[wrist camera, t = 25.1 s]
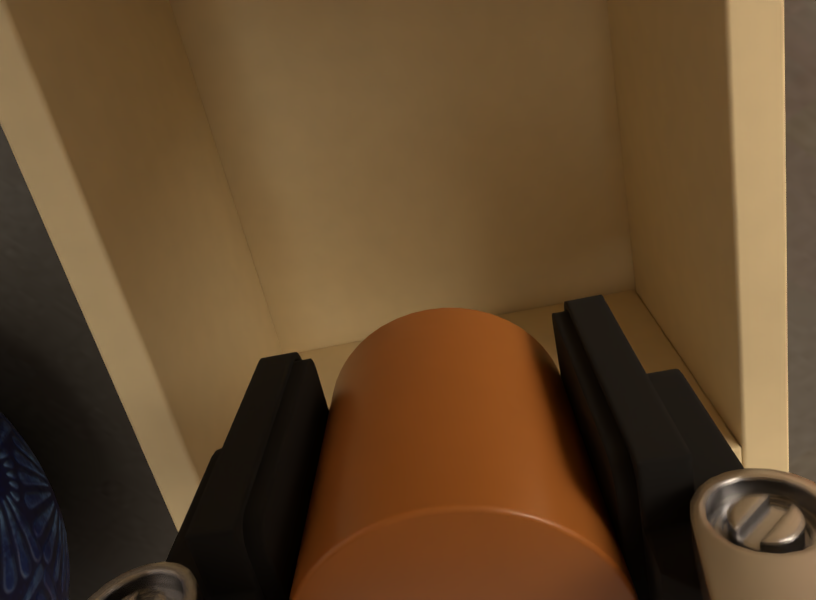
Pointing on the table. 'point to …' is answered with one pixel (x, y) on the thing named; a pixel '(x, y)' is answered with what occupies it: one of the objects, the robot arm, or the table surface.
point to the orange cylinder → (455, 474)
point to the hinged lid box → (405, 188)
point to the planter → (29, 526)
